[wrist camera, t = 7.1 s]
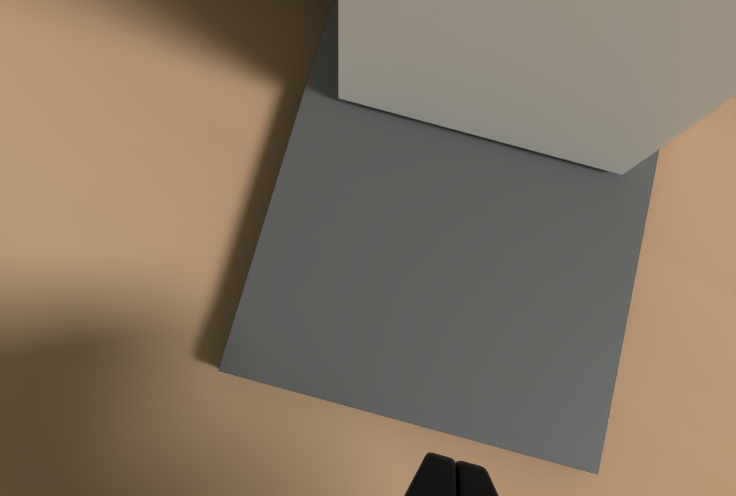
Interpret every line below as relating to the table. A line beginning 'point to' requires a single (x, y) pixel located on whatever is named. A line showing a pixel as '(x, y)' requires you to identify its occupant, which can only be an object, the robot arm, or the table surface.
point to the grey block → (442, 277)
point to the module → (544, 69)
